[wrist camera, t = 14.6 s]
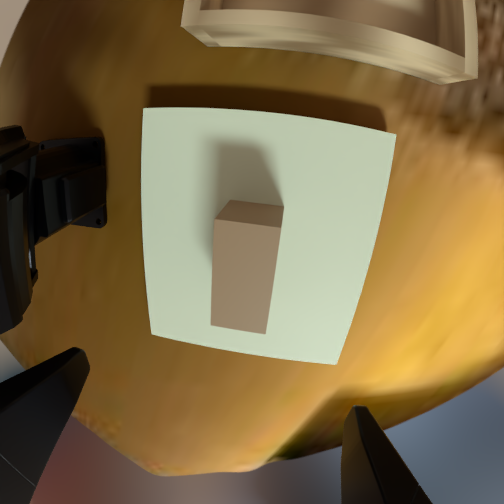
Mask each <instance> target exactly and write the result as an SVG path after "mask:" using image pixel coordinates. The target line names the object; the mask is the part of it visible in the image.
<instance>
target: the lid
mask: <svg viewBox="0 0 504 504" xmlns="http://www.w3.org/2000/svg"><path fill="white" fill-rule="evenodd" d="M395 141H396V134H392V133H388V132H383V131H379V130H375V129H370V128H366V127H361V126H356V125H351V124H346V123H340V122H335V121H329V120H323V119H317V118H310V117H303V116H296V115H288V114H280V113H271V112H261V111H249V110H235V109H218V108H143V126H142V155H141V202H142V232H143V250H144V265H145V278H146V289H147V299H148V308H149V317H150V325H151V332H152V334H153V335H157V336H161V337H165V338H170V339H174V340H179V341H183V342H188V343H193V344H198V345H203V346H208V347H213V348H218V349H224V350H229V351H235V352H241V353H247V354H253V355H259V356H266V357H273V358H280V359H288V360H296V361H304V362H313V363H323V364H334V365H336V364H337V361H338V359H339V356H340V353H341V351H342V348H343V345H344V342H345V340H346V337H347V334H348V331H349V328H350V325H351V322H352V319H353V316H354V313H355V310H356V307H357V304H358V301H359V297H360V294H361V291H362V288H363V284H364V281H365V277H366V274H367V270H368V267H369V263H370V259H371V256H372V252H373V248H374V244H375V240H376V236H377V232H378V228H379V224H380V220H381V215H382V211H383V206H384V201H385V197H386V192H387V187H388V182H389V176H390V171H391V165H392V160H393V153H394V147H395Z"/></svg>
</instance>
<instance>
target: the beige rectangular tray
mask: <svg viewBox="0 0 504 504" xmlns="http://www.w3.org/2000/svg"><path fill="white" fill-rule="evenodd" d="M181 27H183V28H184V29H185V30H187V31H188V32H189V33H191V34H192V35H193V36H195V37H196V38H197V39H199V40H200V41H201V42H203V43H204V44H205V45H206V46H208V47H211V46H228V47H257V48H271V49H283V50H292V51H301V52H309V53H316V54H322V55H328V56H334V57H340V58H345V59H350V60H355V61H359V62H364V63H368V64H372V65H376V66H380V67H384V68H388V69H392V70H395V71H399V72H402V73H406V74H409V75H412V76H415V77H419V78H422V79H425V80H428V81H430V82H433V83H436V84H439V85H442V84H447V83H453V82H458V81H464V80H470V79H477V78H478V36H477V19H476V8H475V0H185V2H184V8H183V15H182V21H181Z"/></svg>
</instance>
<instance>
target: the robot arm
mask: <svg viewBox="0 0 504 504" xmlns="http://www.w3.org/2000/svg"><path fill="white" fill-rule="evenodd" d="M96 142H98V147H97V146H96ZM44 146H45V149H44ZM99 219H100V220H101V223H100V222H99ZM106 223H107V215H106V186H105V168H104V140H103V139H102V138H101V137H84V138H69V139H56V140H46V141H42V142H40V144H39V143H36V142H32V141H28V140H26V136H25V135H24V132H23V130H22V127H21V126H18V125H13V126H7V127H2V128H0V334H2V333H4V332H6V331H8V330H10V329H12V328H14V327H15V326H17V325H18V324H19V323H20V322H21V321H22V320H23V314H24V312H25V311H26V309H27V308H28V306H29V304H30V303H31V298H32V293H33V289H32V288H33V286H34V284H35V282H36V281H37V279H38V270H37V269H36V262H35V245H37V244H38V243H40V242H42V241H43V240H45V239H46V238H48V237H50V236H51V235H53V234H55V233H56V232H58V231H60V230H61V229H63V228H65V227H67V226H68V225H70V224H72V225H79V226H86V227H94V228H102V227H104V226H105V225H106ZM89 371H90V365H89V362H88V359H87V356H86V353H85V351H84V350H82V349H80V348H77V347H72V348H70V349H68V350H66V351H64V352H62V353H60V354H58V355H56V356H54V357H52V358H50V359H48V360H46V361H44V362H42V363H40V364H38V365H36V366H34V367H32V368H30V369H28V370H26V371H24V372H22V373H20V374H17V375H16V376H14V377H11V378H9V379H7V380H5V381H3V382H1V383H0V504H29V503H30V501H31V498H32V496H33V494H34V491H35V489H36V486H37V484H38V482H39V479H40V477H41V475H42V473H43V470H44V468H45V466H46V464H47V462H48V460H49V458H50V455H51V453H52V451H53V449H54V447H55V445H56V443H57V441H58V439H59V437H60V435H61V433H62V431H63V429H64V427H65V425H66V423H67V421H68V419H69V417H70V415H71V413H72V411H73V410H74V407H75V405H76V403H77V401H78V398H79V396H80V393H81V391H82V388H83V386H84V384H85V381H86V379H87V376H88V374H89ZM418 485H419V483H418V482H417V480H416V479H415V477H414V476H413V474H412V473H411V471H410V470H409V468H408V467H407V466H406V464H405V462H404V461H403V460H402V458H401V456H400V455H399V453H398V452H397V450H396V449H395V448H394V446H393V445H392V443H391V442H390V440H389V439H388V437H387V436H386V434H385V433H384V431H383V430H382V428H381V427H380V425H379V424H378V422H377V421H376V419H375V418H374V416H373V415H372V413H371V412H370V410H369V409H368V408H367V407H366V406H364V405H354V406H353V407H352V408H351V410H350V412H349V414H348V415H347V417H346V419H345V422H344V431H343V444H342V456H341V504H433V503H432V502H431V501H430V499H429V498H428V496H427V495H426V494H425V492H424V491H423V489H422V488H421V486H420V485H419V486H418Z"/></svg>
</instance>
